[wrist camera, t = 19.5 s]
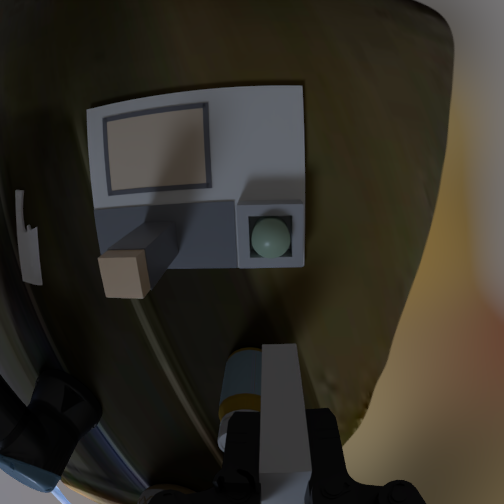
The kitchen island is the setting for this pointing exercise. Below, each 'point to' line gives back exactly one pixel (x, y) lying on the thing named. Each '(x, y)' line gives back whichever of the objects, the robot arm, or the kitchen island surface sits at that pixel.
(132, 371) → the kitchen island surface
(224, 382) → the bottle
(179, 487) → the vase
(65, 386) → the robot arm
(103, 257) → the two-tone square rod
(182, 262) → the board
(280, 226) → the button
